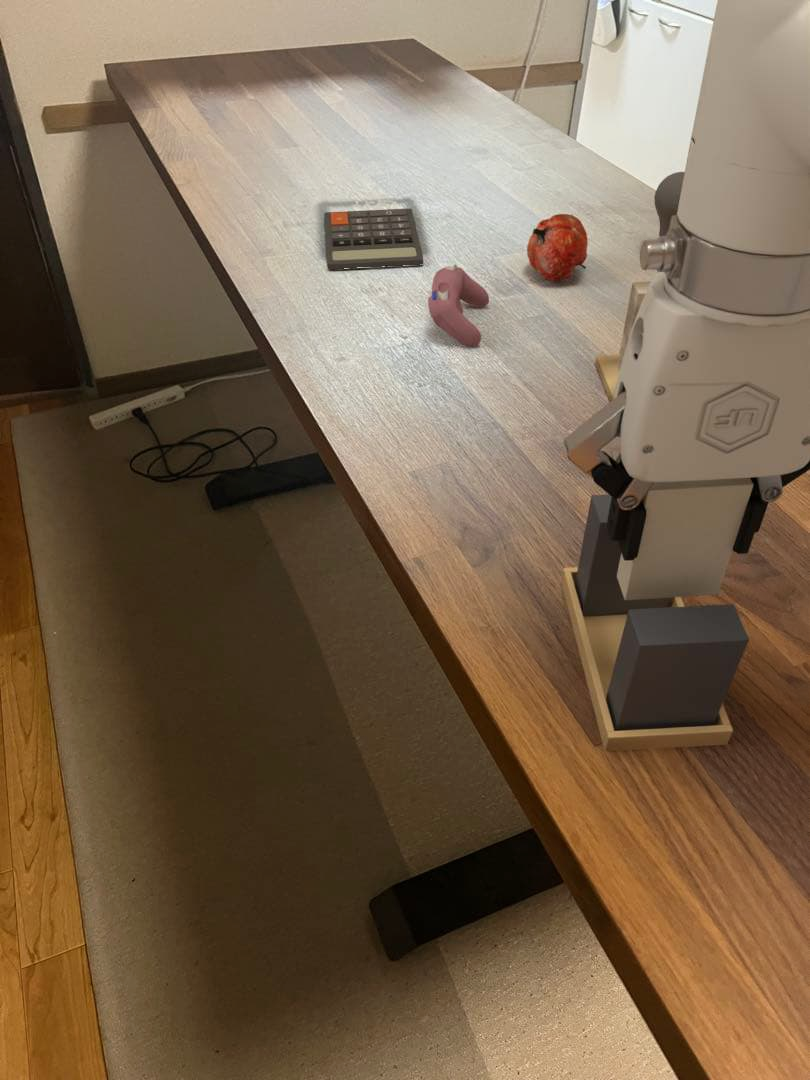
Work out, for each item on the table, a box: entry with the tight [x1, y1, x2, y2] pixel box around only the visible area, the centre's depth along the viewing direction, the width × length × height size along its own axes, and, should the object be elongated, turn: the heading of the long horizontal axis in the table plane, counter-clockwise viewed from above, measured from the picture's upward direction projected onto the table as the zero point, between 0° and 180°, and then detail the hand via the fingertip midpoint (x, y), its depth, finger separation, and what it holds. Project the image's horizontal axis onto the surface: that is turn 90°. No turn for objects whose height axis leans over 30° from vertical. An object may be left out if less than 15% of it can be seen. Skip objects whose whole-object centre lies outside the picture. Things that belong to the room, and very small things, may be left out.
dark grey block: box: [606, 603, 750, 731], centre depth 54 cm, size 3×6×10 cm, turn 93°
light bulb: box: [653, 171, 685, 237], centre depth 103 cm, size 6×6×10 cm
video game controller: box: [427, 264, 490, 347], centre depth 93 cm, size 10×5×7 cm, turn 170°
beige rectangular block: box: [617, 478, 753, 600], centre depth 52 cm, size 2×6×9 cm, turn 93°
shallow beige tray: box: [560, 566, 734, 752], centre depth 60 cm, size 15×8×2 cm, turn 3°
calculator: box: [323, 208, 424, 271], centre depth 109 cm, size 12×1×15 cm
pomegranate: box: [526, 213, 589, 283], centre depth 101 cm, size 7×7×10 cm
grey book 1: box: [575, 494, 671, 617], centre depth 61 cm, size 3×6×10 cm, turn 93°
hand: (678, 539), depth 52 cm, fingers closed on beige rectangular block, 6 cm apart
